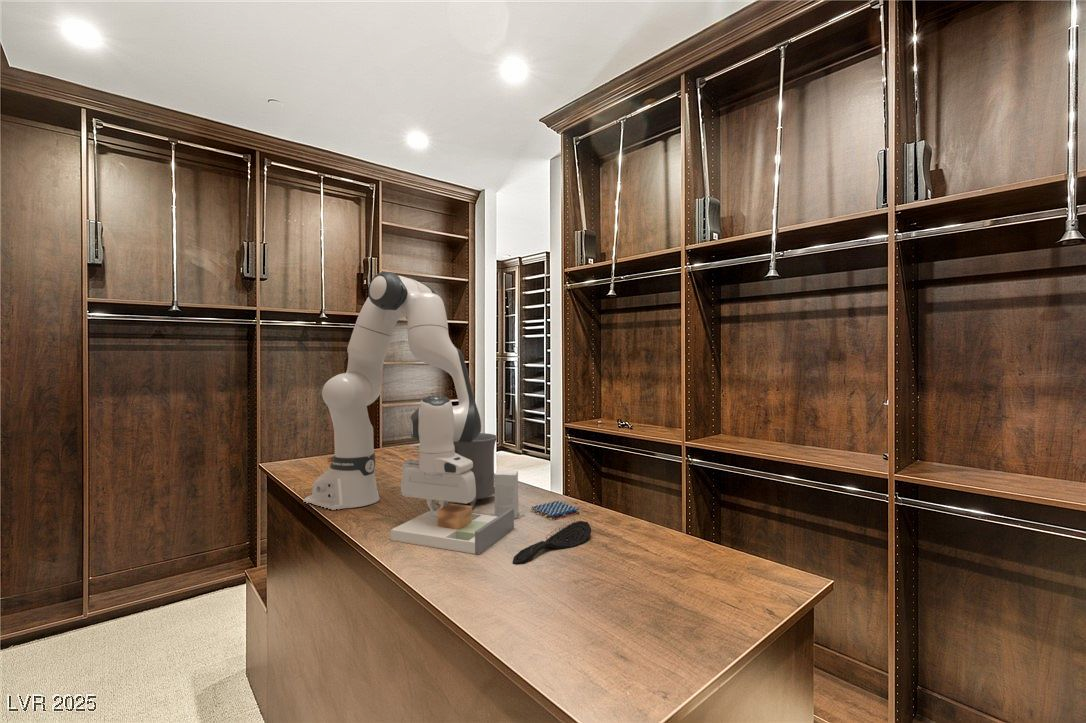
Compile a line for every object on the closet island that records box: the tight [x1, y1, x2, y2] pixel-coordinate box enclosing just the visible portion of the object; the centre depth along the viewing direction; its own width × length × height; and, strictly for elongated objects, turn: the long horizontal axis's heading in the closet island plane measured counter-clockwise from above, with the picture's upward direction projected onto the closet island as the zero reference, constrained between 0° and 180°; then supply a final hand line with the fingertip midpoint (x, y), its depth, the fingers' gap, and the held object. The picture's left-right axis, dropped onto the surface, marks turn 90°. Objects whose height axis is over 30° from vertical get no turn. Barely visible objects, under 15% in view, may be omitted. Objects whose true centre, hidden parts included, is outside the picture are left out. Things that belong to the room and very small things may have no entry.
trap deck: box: [390, 508, 515, 555], centre depth 125 cm, size 24×18×5 cm
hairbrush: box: [512, 517, 592, 566], centre depth 117 cm, size 8×4×25 cm
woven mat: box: [530, 500, 581, 521], centre depth 142 cm, size 10×11×2 cm
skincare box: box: [494, 470, 520, 520], centre depth 139 cm, size 6×4×12 cm
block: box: [438, 503, 473, 530], centre depth 125 cm, size 6×6×4 cm
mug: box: [453, 432, 498, 510], centre depth 153 cm, size 19×15×25 cm
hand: (437, 516), depth 127 cm, fingers closed
